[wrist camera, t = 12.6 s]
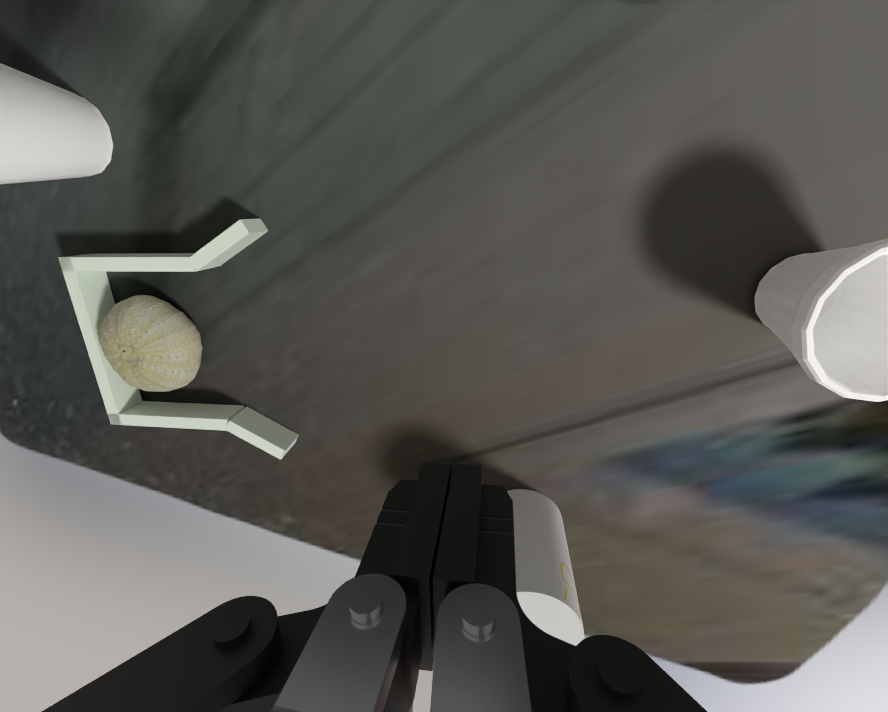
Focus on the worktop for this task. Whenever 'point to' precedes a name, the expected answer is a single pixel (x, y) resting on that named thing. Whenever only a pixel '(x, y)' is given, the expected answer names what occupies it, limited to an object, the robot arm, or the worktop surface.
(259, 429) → the flared u-shaped rail
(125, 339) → the sea urchin shell
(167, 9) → the worktop surface
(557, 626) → the cup
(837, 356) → the cup
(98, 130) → the foam cup
